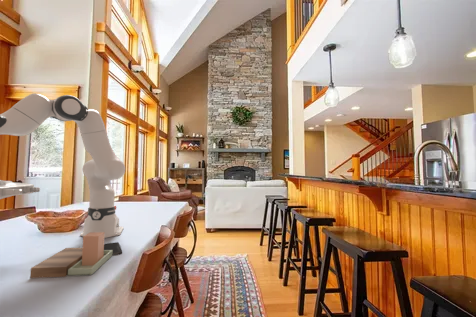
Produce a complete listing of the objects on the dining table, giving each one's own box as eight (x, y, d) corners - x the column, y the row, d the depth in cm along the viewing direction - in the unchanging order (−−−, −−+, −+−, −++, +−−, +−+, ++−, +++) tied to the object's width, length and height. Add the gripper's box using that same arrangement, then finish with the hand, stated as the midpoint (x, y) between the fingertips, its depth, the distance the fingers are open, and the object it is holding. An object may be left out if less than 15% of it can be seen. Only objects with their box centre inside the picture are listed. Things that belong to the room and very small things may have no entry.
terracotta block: (88, 260, 87) (90, 232, 88) (103, 259, 88) (104, 232, 88) (81, 265, 82) (83, 236, 83) (97, 265, 83) (98, 236, 84)
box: (93, 255, 93) (93, 250, 93) (112, 255, 94) (112, 249, 94) (67, 275, 76) (67, 269, 76) (91, 275, 76) (91, 268, 77)
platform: (65, 255, 92) (66, 247, 93) (93, 255, 94) (93, 247, 94) (30, 277, 74) (30, 268, 74) (65, 276, 75) (66, 266, 75)
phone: (100, 255, 92) (98, 244, 105) (100, 258, 92) (98, 247, 104) (122, 251, 96) (118, 241, 109) (122, 254, 96) (118, 244, 109)
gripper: (-39, 183, 79) (8, 184, 81) (11, 180, 99) (47, 181, 101) (-41, 202, 78) (7, 203, 80) (10, 196, 99) (46, 196, 101)
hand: (30, 190), depth 91 cm, fingers open, 8 cm apart
